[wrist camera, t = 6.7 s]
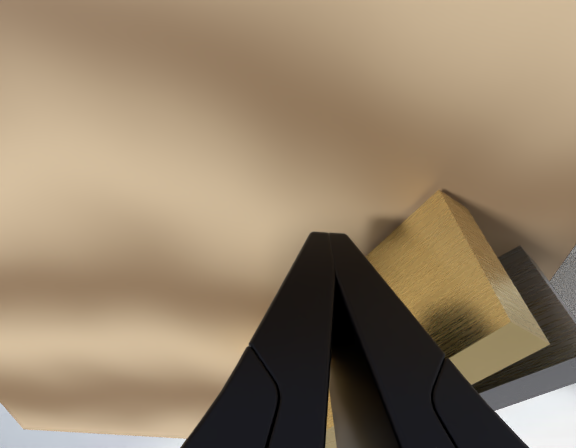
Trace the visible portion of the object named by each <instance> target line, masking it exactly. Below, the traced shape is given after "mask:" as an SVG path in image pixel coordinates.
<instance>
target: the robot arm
mask: <svg viewBox="0 0 576 448" xmlns="http://www.w3.org/2000/svg"><path fill="white" fill-rule="evenodd" d="M329 392H330V400H331V407H332V415H333V423H334V430H335V438H336V446H337V448H529V447H528V446H527V445H526V444H525V443H524V442H523V441H522V440H521V439H520V438H519V437H518V436H517V435H516V434H515V433H514V431H513V430H512V429H511V428H510V427H509V426H508V425H507V424H506V423H505V422H504V421H503V420H502V419H501V418H500V417H499V415H498V414H497V413H496V412H495V411H494V410H493V409H492V408H491V407H490V406H489V405H488V404H487V403H486V401H485V400H484V399H483V398H482V397H481V396H480V394H479V393H478V392H477V391H476V390H475V389H474V387H473V386H472V385H471V384H470V383H469V382H468V381H467V379H466V378H465V377H464V376H463V375H462V373H461V372H460V371H459V370H458V369H457V367H456V366H455V365H454V364H453V363H452V361H451V360H450V359H449V358H445V353H444V352H443V351H442V349H441V348H440V347H439V346H438V345H437V343H436V342H435V341H434V340H433V338H432V337H431V336H430V335H429V334H428V332H427V331H426V330H425V329H424V328H423V326H422V325H421V324H420V323H419V321H418V320H417V319H416V318H415V317H414V315H413V314H412V313H411V312H410V311H409V309H408V308H407V307H406V306H405V304H404V303H403V302H402V301H401V300H400V298H399V297H398V296H397V295H396V293H395V292H394V291H393V290H392V289H391V287H390V286H389V285H388V284H387V283H386V281H385V280H384V279H383V278H382V276H381V275H380V274H379V273H378V272H377V270H376V269H375V268H374V267H373V266H372V264H371V263H370V262H369V261H368V259H367V258H366V257H365V256H364V255H363V253H362V252H361V251H360V250H359V248H358V247H357V246H356V245H355V244H354V242H353V241H352V240H351V239H350V238H349V236H348V235H347V234H345V233H332V232H330V233H328V232H315V231H313V232H311V233H310V234H309V235H308V237H307V239H306V241H305V243H304V244H303V246H302V248H301V250H300V252H299V253H298V255H297V257H296V259H295V261H294V262H293V264H292V266H291V268H290V270H289V272H288V273H287V275H286V277H285V279H284V281H283V282H282V284H281V286H280V288H279V290H278V291H277V293H276V295H275V297H274V299H273V300H272V302H271V304H270V306H269V308H268V309H267V311H266V313H265V315H264V317H263V318H262V320H261V322H260V324H259V326H258V328H257V329H256V331H255V333H254V335H253V337H252V338H251V340H250V342H249V346H248V347H246V349H245V350H244V352H243V354H242V356H241V358H240V359H239V361H238V363H237V365H236V366H235V368H234V370H233V371H232V373H231V375H230V376H229V378H228V380H227V381H226V383H225V385H224V386H223V388H222V390H221V391H220V393H219V394H218V396H217V397H216V399H215V400H214V401H213V403H212V404H211V406H210V407H209V409H208V410H207V412H206V413H205V415H204V416H203V417H202V419H201V420H200V422H199V423H198V424H197V426H196V427H195V428H194V430H193V431H192V433H191V434H190V435H189V437H188V438H187V439H186V441H185V442H184V443H183V445H182V446H181V448H325V444H326V428H327V413H328V397H329Z"/></svg>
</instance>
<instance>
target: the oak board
mask: <svg viewBox="0 0 576 448" xmlns="http://www.w3.org/2000/svg"><path fill="white" fill-rule="evenodd" d="M438 190H441V191H442V192H443V193H445V194H446V195H448V196H449V197H451V198H452V199H454V200H455V201H457V202H458V203H460V204H461V205H463V206H464V207H466V208H467V209H468V210H469V212H470V214H471V215H472V217H473V218H474V220H475V222H476V223H477V225H478V227H479V228H480V230H481V232H482V233H483V235H484V236H485V238H486V240H487V241H488V243H489V245H490V246H491V248H492V250H493V251H494V253H495V254H496V256H497V258H498V257H499V256H501V255H503V254H505V253H507V252H509V251H510V250H512V249H514V248H516V247H518V246H521V247H522V248H523V249H524V250H525V251H526V253H527V254H528V255H529V256H530V257H531V258H532V259H533V260H534V262H535V263H536V264H537V265H538V266H539V268H540V269H541V271H542V272H543V273H544V275H545V276H546V278H547V279H548V280H549V281H550V280H551V279H552V277H553V276H554V274H555V273H556V272H557V270H558V269H559V267H560V266H561V265H562V263H563V262H564V260H565V259H566V258H567V256H568V255H569V253H570V252H571V251H572V249H573V248H574V246H575V245H576V0H0V403H1V404H2V405H3V406H4V407H5V408H6V409H7V411H8V412H9V413H10V414H11V415H12V416H13V417H14V419H15V420H16V421H17V422H18V423H19V424H20V425H21V427H22V428H23V429H28V430H45V431H63V432H80V433H97V434H115V435H132V436H149V437H167V438H184V439H187V438H188V437H189V435H190V434H191V433H192V431H193V430H194V428H195V427H196V426H197V424H198V423H199V422H200V420H201V419H202V417H203V416H204V415H205V413H206V412H207V410H208V409H209V407H210V406H211V404H212V403H213V401H214V400H215V399H216V397H217V396H218V394H219V393H220V391H221V390H222V388H223V386H224V385H225V383H226V381H227V380H228V378H229V376H230V375H231V373H232V371H233V370H234V368H235V366H236V365H237V363H238V361H239V359H240V358H241V356H242V354H243V352H244V350H245V349H246V347H248V346H249V342H250V340H251V338H252V337H253V335H254V333H255V331H256V329H257V328H258V326H259V324H260V322H261V320H262V318H263V317H264V315H265V313H266V311H267V309H268V308H269V306H270V304H271V302H272V300H273V299H274V297H275V295H276V293H277V291H278V290H279V288H280V286H281V284H282V282H283V281H284V279H285V277H286V275H287V273H288V272H289V270H290V268H291V266H292V264H293V262H294V261H295V259H296V257H297V255H298V253H299V252H300V250H301V248H302V246H303V244H304V243H305V241H306V239H307V237H308V235H309V234H310V233H311V232H313V231H315V232H328V233H330V232H332V233H345V234H347V235H348V236H349V238H350V239H351V240H352V241H353V242H354V244H355V245H356V246H357V247H358V248H359V250H360V251H361V252H362V253H363V255H364V256H367V255H368V254H369V253H370V252H371V251H372V250H373V249H374V248H375V247H376V246H378V245H379V244H380V243H381V242H382V241H383V240H384V239H385V238H386V237H387V236H388V235H390V234H391V233H392V232H393V231H394V230H395V229H396V228H397V227H398V226H399V225H401V224H402V223H403V222H404V221H405V220H406V219H407V218H408V217H409V216H410V215H411V214H413V213H414V212H415V211H416V210H417V209H418V208H419V207H420V206H421V205H422V204H423V203H425V202H426V201H427V200H428V199H429V198H430V197H431V196H432V195H433V194H434V193H436V192H437V191H438Z"/></svg>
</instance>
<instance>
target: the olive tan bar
mask: <svg viewBox="0 0 576 448" xmlns="http://www.w3.org/2000/svg"><path fill="white" fill-rule="evenodd" d="M365 257H366V258H367V259H368V261H369V262H370V263H371V264H372V266H373V267H374V268H375V269H376V270H377V272H378V273H379V274H380V275H381V276H382V278H383V279H384V280H385V281H386V283H387V284H388V285H389V286H390V287H391V289H392V290H393V291H394V292H395V293H396V295H397V296H398V297H399V298H400V300H401V301H402V302H403V303H404V304H405V306H406V307H407V308H408V309H409V311H410V312H411V313H412V314H413V315H414V317H415V318H416V319H417V320H418V321H419V323H420V324H421V325H422V326H423V328H424V329H425V330H426V331H427V332H428V334H429V335H430V336H431V337H432V338H433V340H434V341H435V342H436V343H437V345H438V346H439V347H440V348H441V349H442V351H443V352H444V353H445V358H449V359H450V360H451V361H452V363H453V364H454V365H455V366H456V367H457V369H458V370H459V371H460V372H461V373H462V375H463V376H464V377H465V378H466V379H467V381H468V382H469V383H470V384H471V385H472V384H474V383H476V382H478V381H480V380H482V379H484V378H486V377H488V376H490V375H492V374H494V373H496V372H498V371H500V370H502V369H504V368H505V367H507V366H509V365H511V364H513V363H515V362H517V361H519V360H521V359H523V358H525V357H527V356H529V355H531V354H533V353H535V352H536V351H538V350H540V349H542V348H544V347H546V346H548V345H550V343H549V341H548V340H547V338H546V336H545V335H544V333H543V331H542V330H541V328H540V327H539V325H538V323H537V322H536V320H535V318H534V317H533V315H532V313H531V312H530V310H529V309H528V307H527V305H526V304H525V302H524V300H523V299H522V297H521V295H520V294H519V292H518V291H517V289H516V287H515V286H514V284H513V282H512V281H511V279H510V277H509V276H508V274H507V272H506V271H505V269H504V268H503V266H502V264H501V263H500V261H499V259H498V258H497V256H496V254H495V253H494V251H493V250H492V248H491V246H490V245H489V243H488V241H487V240H486V238H485V236H484V235H483V233H482V232H481V230H480V228H479V227H478V225H477V223H476V222H475V220H474V218H473V217H472V215H471V214H470V212H469V210H468V209H467V208H466V207H464V206H463V205H461V204H460V203H458V202H457V201H455V200H454V199H452V198H451V197H449V196H448V195H446V194H445V193H443V192H442V191H441V190H438V191H437V192H436V193H434V194H433V195H432V196H431V197H430V198H429V199H428V200H427V201H426V202H425V203H423V204H422V205H421V206H420V207H419V208H418V209H417V210H416V211H415V212H414V213H413V214H411V215H410V216H409V217H408V218H407V219H406V220H405V221H404V222H403V223H402V224H401V225H399V226H398V227H397V228H396V229H395V230H394V231H393V232H392V233H391V234H390V235H388V236H387V237H386V238H385V239H384V240H383V241H382V242H381V243H380V244H379V245H378V246H376V247H375V248H374V249H373V250H372V251H371V252H370V253H369V254H368V255H367V256H365ZM325 448H337V446H336V438H335V430H334V423H333V415H332V407H331V400H330V392H329V397H328V413H327V428H326V444H325Z"/></svg>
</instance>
